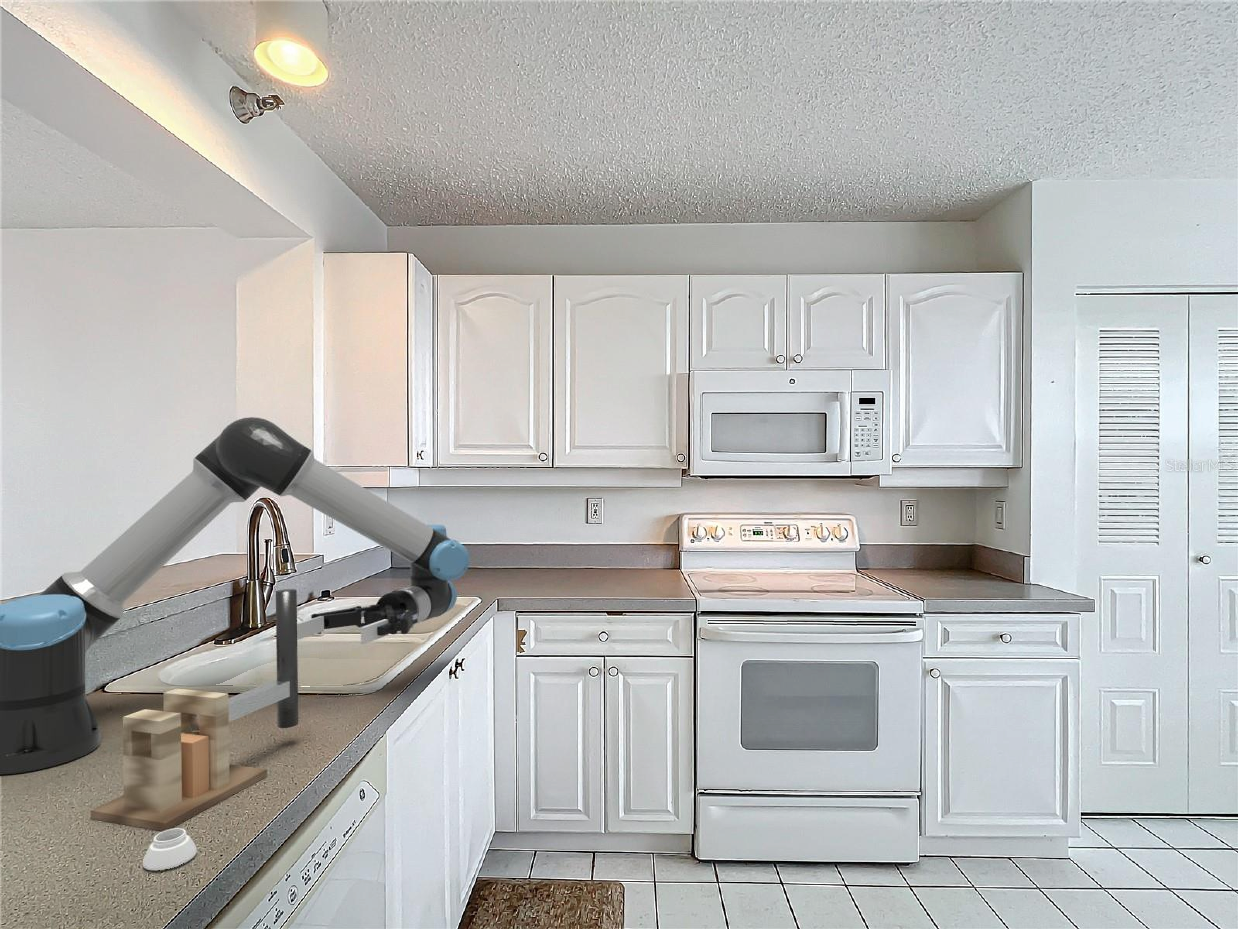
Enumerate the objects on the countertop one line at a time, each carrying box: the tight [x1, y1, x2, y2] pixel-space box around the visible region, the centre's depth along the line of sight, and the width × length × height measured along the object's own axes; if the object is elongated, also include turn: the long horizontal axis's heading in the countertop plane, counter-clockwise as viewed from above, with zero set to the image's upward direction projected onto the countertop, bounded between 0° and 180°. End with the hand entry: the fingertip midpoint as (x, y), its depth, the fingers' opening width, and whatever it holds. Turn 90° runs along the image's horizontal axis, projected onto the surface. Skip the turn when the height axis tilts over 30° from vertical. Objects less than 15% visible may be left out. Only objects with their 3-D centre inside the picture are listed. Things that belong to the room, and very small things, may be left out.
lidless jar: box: [142, 827, 198, 871], centre depth 81 cm, size 5×3×5 cm
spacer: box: [181, 733, 209, 798], centre depth 96 cm, size 7×2×7 cm, turn 73°
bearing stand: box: [90, 688, 268, 832], centre depth 96 cm, size 12×16×13 cm
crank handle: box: [191, 588, 299, 732], centre depth 107 cm, size 3×18×21 cm, turn 163°
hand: (328, 633), depth 124 cm, fingers open, 13 cm apart
